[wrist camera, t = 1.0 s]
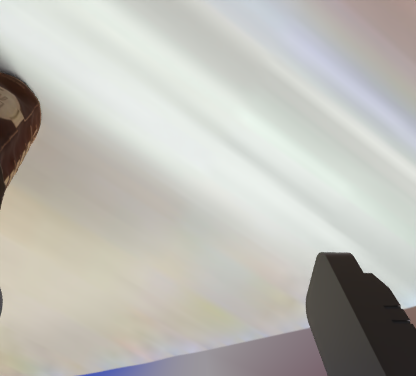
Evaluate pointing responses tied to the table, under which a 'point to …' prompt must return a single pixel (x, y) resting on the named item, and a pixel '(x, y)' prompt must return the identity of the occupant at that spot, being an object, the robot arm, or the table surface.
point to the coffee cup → (15, 126)
